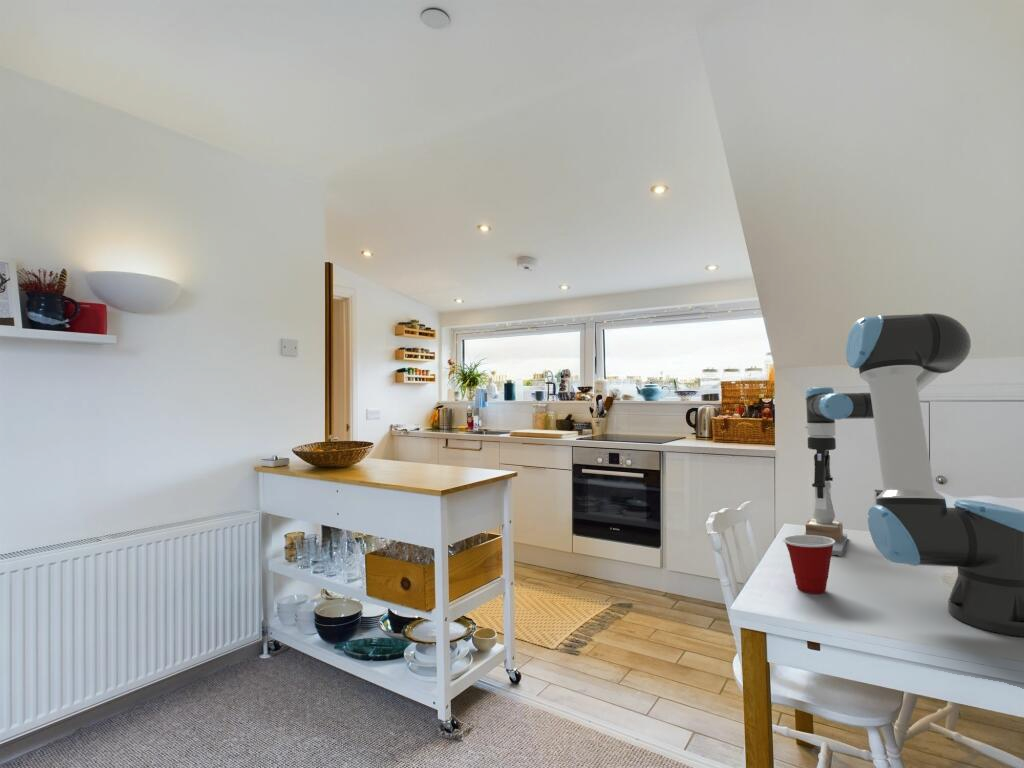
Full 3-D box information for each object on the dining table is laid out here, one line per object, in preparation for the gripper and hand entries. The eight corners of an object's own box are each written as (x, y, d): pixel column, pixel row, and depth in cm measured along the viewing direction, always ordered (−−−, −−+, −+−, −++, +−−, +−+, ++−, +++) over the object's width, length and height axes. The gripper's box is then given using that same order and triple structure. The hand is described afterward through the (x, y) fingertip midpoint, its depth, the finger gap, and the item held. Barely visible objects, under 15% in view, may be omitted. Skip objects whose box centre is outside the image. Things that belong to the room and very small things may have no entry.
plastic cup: (792, 578, 130) (791, 529, 130) (842, 588, 122) (841, 537, 123) (777, 589, 122) (775, 538, 123) (829, 602, 115) (827, 547, 115)
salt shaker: (829, 520, 164) (828, 479, 164) (838, 525, 158) (837, 482, 158) (809, 520, 164) (808, 479, 165) (818, 525, 159) (817, 482, 159)
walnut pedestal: (840, 542, 155) (839, 527, 155) (806, 537, 160) (805, 523, 160) (842, 535, 162) (842, 521, 162) (809, 531, 168) (809, 518, 168)
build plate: (841, 556, 146) (841, 551, 146) (797, 550, 153) (797, 545, 153) (847, 538, 164) (847, 533, 164) (807, 533, 170) (807, 529, 170)
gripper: (812, 433, 174) (814, 497, 174) (801, 439, 154) (804, 510, 154) (838, 434, 170) (841, 499, 169) (831, 439, 150) (833, 513, 149)
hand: (823, 505), depth 161 cm, fingers open, 13 cm apart
